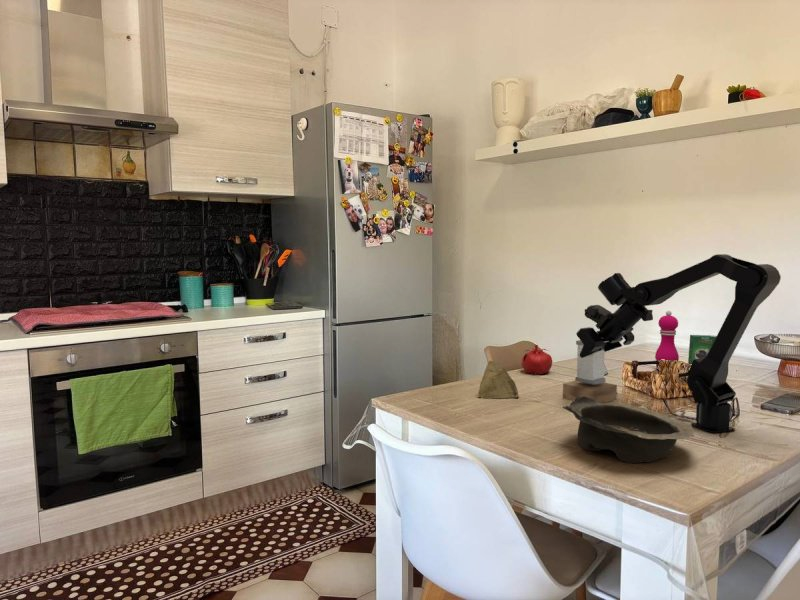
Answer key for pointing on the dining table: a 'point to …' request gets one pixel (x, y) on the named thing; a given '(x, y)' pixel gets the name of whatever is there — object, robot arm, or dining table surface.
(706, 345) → the coffee box
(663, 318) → the pepper mill
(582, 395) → the stand
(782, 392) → the dining table surface
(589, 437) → the stone bowl
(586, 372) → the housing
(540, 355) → the pomegranate
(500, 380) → the rock
